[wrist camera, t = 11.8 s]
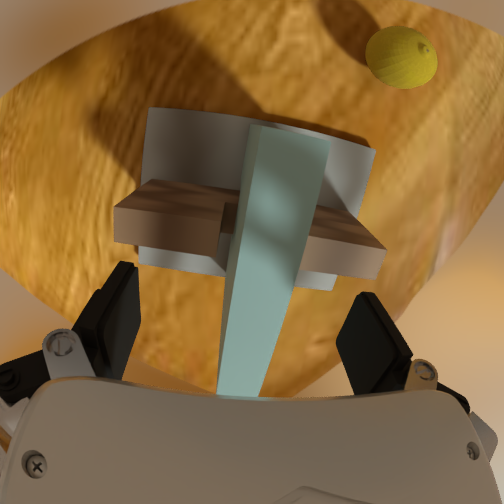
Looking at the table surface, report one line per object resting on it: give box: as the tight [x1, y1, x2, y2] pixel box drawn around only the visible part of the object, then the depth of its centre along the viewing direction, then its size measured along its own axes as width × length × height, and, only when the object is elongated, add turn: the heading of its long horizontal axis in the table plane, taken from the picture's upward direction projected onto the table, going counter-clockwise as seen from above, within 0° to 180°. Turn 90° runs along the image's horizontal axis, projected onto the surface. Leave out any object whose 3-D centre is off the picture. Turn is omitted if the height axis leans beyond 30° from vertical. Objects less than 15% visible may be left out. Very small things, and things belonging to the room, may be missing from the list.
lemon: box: [365, 26, 437, 89], centre depth 15 cm, size 6×6×8 cm
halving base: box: [114, 107, 387, 291], centre depth 21 cm, size 20×15×9 cm
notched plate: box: [216, 124, 331, 397], centre depth 18 cm, size 14×2×14 cm, turn 170°
